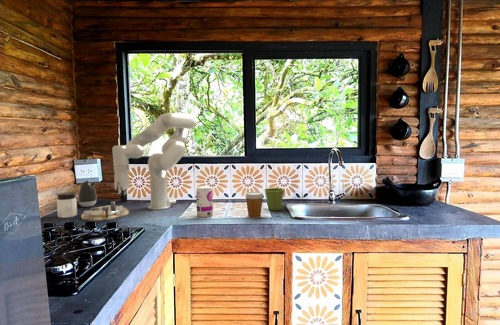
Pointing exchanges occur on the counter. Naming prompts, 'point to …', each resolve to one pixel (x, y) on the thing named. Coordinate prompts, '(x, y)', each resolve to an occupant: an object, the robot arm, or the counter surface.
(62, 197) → the jar
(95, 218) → the sprocket base
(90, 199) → the gray teardrop vessel
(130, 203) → the counter surface
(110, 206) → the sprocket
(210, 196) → the supplement can
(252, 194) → the disposable coffee cup
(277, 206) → the plant pot
